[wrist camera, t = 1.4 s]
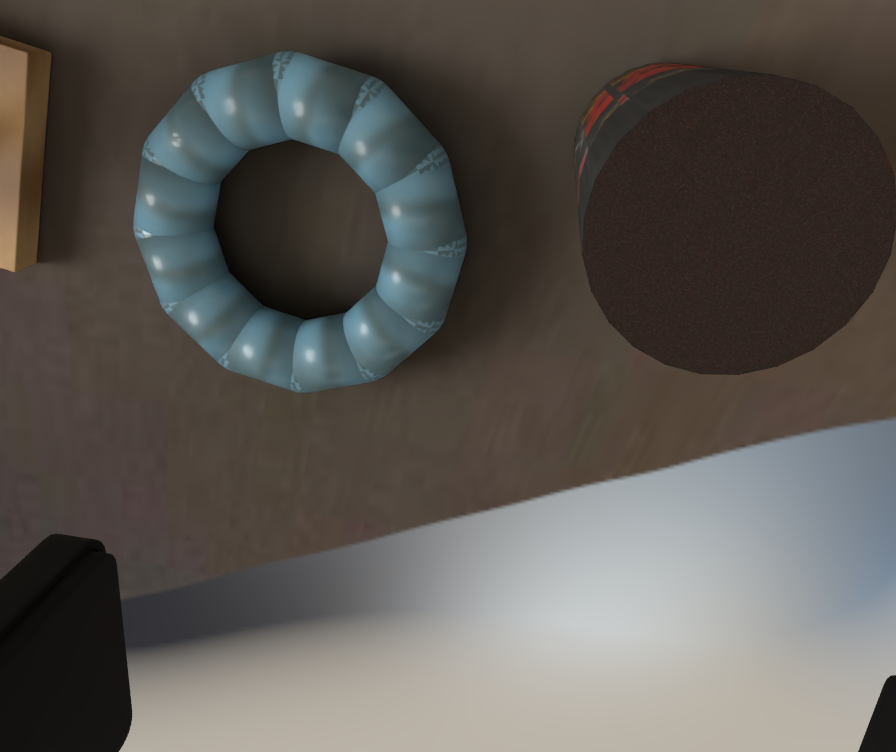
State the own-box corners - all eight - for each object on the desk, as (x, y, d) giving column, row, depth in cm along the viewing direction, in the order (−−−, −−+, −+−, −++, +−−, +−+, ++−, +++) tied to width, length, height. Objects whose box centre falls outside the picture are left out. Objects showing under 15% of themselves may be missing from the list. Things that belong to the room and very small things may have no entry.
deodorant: (768, 100, 28) (965, 147, 14) (689, 251, 30) (792, 416, 17) (615, 36, 28) (665, 22, 14) (548, 193, 30) (535, 311, 16)
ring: (182, 10, 30) (143, 6, 27) (509, 116, 29) (504, 123, 27) (141, 319, 35) (104, 342, 32) (418, 411, 35) (405, 442, 32)
